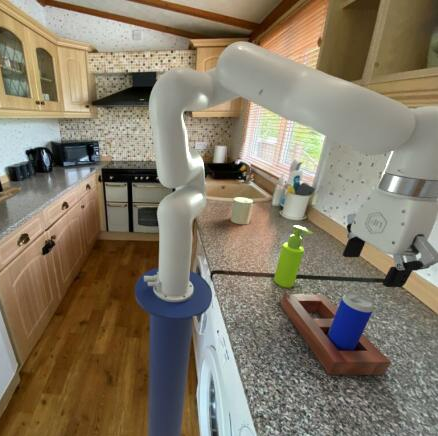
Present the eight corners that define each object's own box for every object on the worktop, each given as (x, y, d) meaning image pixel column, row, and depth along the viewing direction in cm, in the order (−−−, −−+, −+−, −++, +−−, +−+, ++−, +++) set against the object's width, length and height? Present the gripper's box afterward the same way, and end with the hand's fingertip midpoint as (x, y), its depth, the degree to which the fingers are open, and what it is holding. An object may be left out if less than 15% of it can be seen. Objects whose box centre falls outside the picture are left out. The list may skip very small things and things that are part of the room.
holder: (329, 374, 51) (335, 361, 49) (280, 305, 70) (283, 294, 68) (383, 375, 51) (391, 362, 49) (320, 305, 70) (324, 294, 68)
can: (236, 225, 121) (240, 202, 116) (227, 218, 129) (230, 196, 125) (252, 223, 123) (257, 201, 118) (242, 216, 131) (245, 195, 127)
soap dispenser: (288, 291, 75) (305, 234, 67) (269, 278, 81) (283, 224, 73) (300, 286, 77) (318, 230, 70) (282, 274, 83) (296, 221, 75)
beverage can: (336, 339, 59) (357, 290, 53) (356, 358, 54) (382, 306, 49) (318, 342, 58) (337, 292, 52) (336, 362, 54) (360, 309, 48)
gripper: (347, 173, 49) (321, 247, 56) (444, 202, 33) (390, 300, 40) (384, 174, 49) (353, 248, 56) (498, 204, 33) (435, 301, 40)
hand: (369, 269), depth 48 cm, fingers open, 9 cm apart
